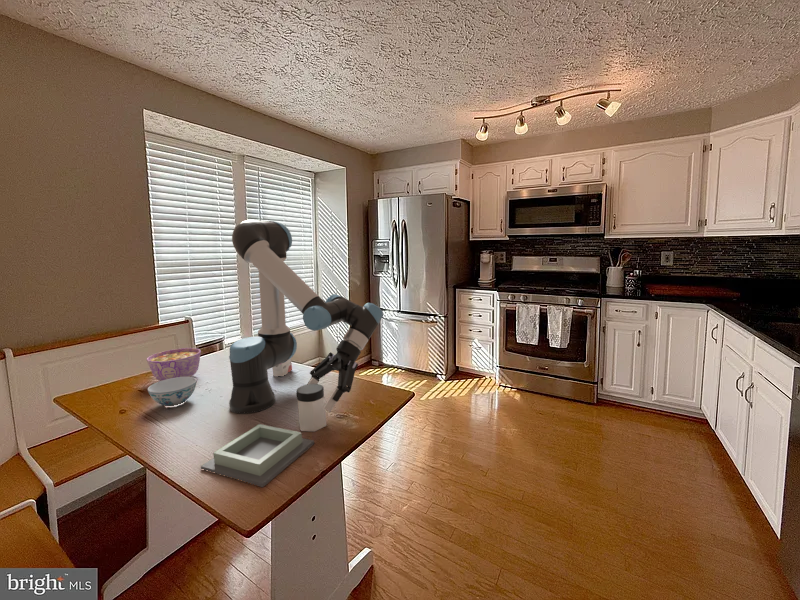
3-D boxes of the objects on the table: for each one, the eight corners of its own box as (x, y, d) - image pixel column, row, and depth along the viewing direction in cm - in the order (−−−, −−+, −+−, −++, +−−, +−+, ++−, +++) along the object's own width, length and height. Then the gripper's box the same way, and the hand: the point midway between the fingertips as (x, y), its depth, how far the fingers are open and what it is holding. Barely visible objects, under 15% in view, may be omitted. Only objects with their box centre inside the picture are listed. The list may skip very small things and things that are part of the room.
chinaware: (141, 409, 131) (138, 388, 129) (181, 393, 144) (179, 374, 143) (167, 416, 124) (165, 394, 123) (207, 399, 138) (205, 379, 136)
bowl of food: (165, 392, 146) (161, 364, 144) (140, 383, 156) (137, 357, 155) (213, 376, 162) (210, 351, 161) (188, 369, 173) (185, 345, 171)
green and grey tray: (201, 469, 93) (199, 455, 92) (259, 432, 111) (257, 419, 111) (262, 487, 85) (261, 471, 85) (314, 443, 104) (313, 430, 103)
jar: (316, 416, 121) (313, 381, 119) (332, 423, 115) (330, 386, 114) (292, 427, 114) (289, 390, 112) (308, 435, 109) (305, 396, 107)
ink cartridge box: (282, 370, 168) (279, 338, 166) (292, 370, 167) (289, 338, 165) (272, 376, 160) (269, 343, 158) (282, 377, 159) (280, 343, 157)
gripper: (382, 358, 114) (345, 421, 106) (338, 345, 132) (303, 397, 125) (368, 345, 110) (328, 410, 102) (324, 333, 128) (287, 387, 120)
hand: (314, 403), depth 113 cm, fingers open, 13 cm apart
